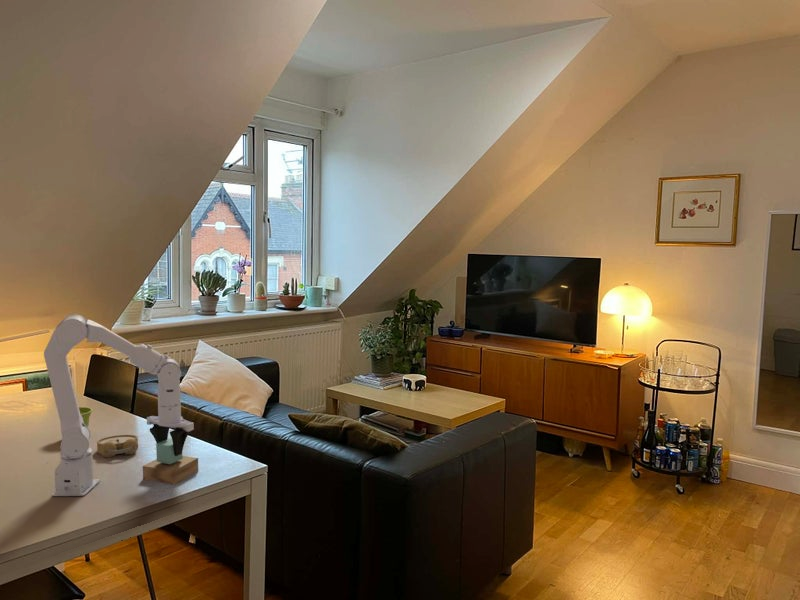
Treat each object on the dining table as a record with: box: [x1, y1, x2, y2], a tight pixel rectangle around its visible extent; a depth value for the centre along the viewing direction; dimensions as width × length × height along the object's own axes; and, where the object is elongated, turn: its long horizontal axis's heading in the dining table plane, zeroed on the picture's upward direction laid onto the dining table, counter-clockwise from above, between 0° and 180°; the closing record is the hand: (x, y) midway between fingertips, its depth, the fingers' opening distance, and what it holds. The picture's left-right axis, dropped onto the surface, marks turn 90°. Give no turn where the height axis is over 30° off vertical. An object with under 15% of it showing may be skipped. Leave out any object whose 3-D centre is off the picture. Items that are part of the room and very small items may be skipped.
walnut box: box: [142, 455, 199, 485], centre depth 167 cm, size 10×10×4 cm
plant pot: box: [79, 406, 93, 428], centre depth 196 cm, size 9×9×9 cm
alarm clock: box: [96, 434, 139, 459], centre depth 184 cm, size 11×5×15 cm
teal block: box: [155, 438, 183, 464], centre depth 166 cm, size 5×5×5 cm
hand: (170, 453), depth 166 cm, fingers open, 5 cm apart
